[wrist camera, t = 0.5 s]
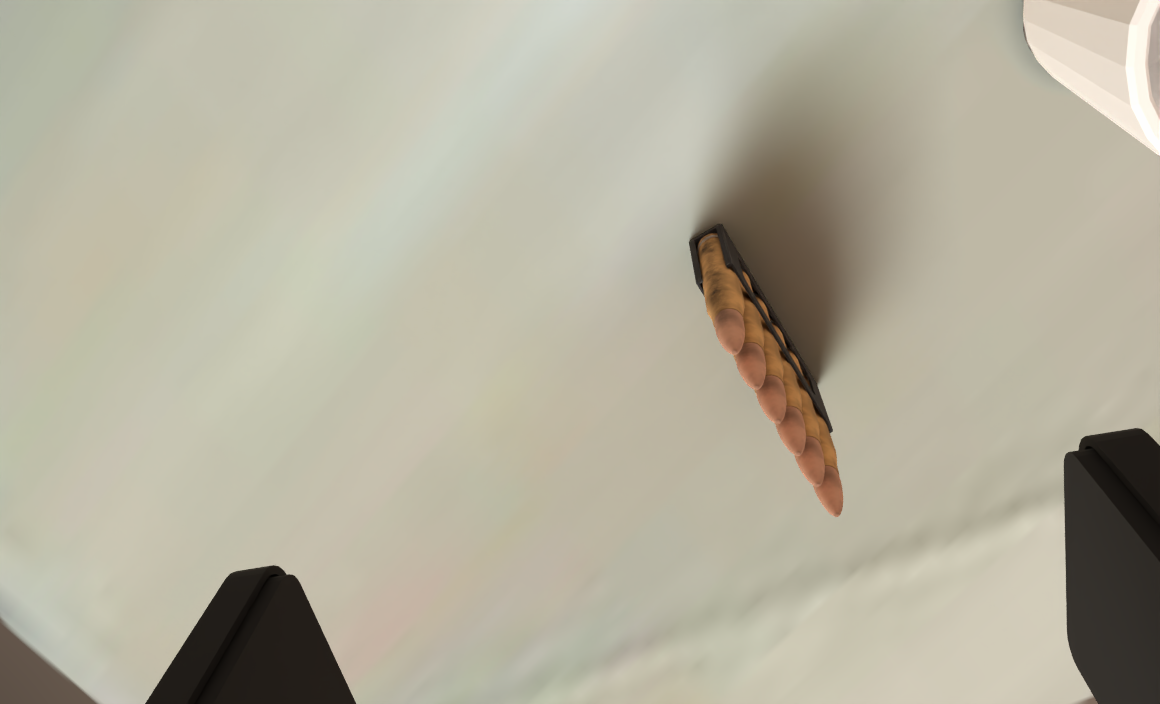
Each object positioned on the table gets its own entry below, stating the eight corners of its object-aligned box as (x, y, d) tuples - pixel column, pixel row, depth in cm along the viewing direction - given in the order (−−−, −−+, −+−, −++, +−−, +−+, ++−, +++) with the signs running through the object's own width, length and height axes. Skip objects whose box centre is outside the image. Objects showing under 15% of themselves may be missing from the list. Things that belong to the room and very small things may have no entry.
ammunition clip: (818, 385, 48) (867, 522, 37) (786, 401, 49) (826, 540, 38) (720, 222, 44) (744, 321, 34) (688, 241, 45) (701, 344, 34)
